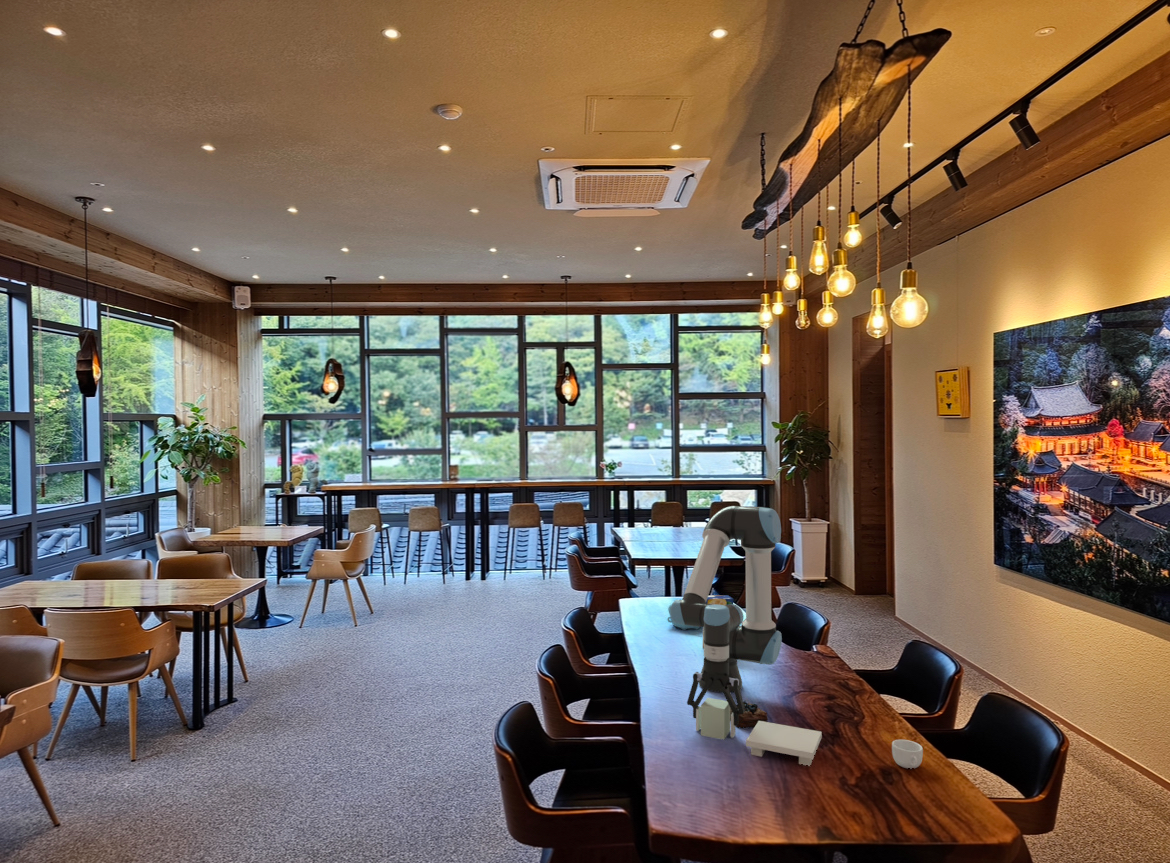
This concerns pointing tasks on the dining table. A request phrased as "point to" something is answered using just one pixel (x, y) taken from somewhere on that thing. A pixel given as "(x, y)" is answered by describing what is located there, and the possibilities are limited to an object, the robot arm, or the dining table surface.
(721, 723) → the sage block
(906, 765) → the teacup
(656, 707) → the dining table surface
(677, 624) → the decorative pot
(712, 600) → the beverage box
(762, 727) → the serving stand
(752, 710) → the pastry
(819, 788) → the dining table surface
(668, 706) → the dining table surface
